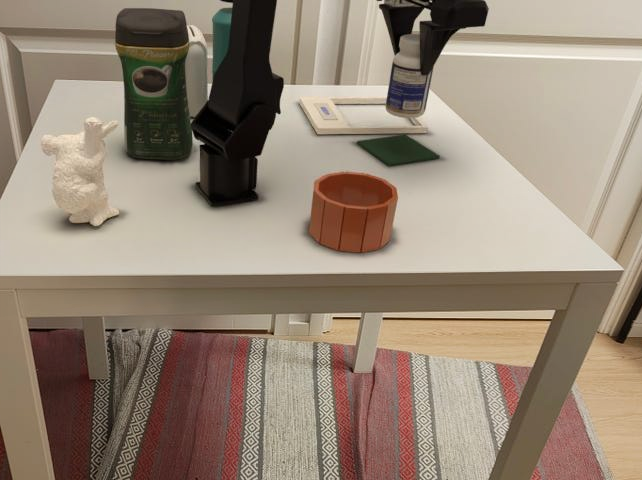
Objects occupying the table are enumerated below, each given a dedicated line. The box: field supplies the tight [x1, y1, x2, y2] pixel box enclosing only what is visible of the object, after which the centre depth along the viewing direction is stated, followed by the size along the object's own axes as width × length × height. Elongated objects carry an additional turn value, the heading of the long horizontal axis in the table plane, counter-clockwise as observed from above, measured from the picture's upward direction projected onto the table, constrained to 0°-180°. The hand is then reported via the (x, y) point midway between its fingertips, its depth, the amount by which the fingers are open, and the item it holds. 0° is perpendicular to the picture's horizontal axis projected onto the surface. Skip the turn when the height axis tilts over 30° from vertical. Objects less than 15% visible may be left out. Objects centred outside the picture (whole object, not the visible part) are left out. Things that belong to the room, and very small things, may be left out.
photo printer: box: [185, 24, 209, 118], centre depth 106 cm, size 10×4×12 cm, turn 13°
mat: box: [356, 134, 441, 167], centre depth 99 cm, size 9×9×1 cm
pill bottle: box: [384, 33, 435, 119], centre depth 92 cm, size 6×6×10 cm
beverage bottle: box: [211, 0, 233, 80], centre depth 97 cm, size 6×7×20 cm
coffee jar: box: [114, 7, 194, 160], centre depth 89 cm, size 10×8×19 cm
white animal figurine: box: [40, 116, 120, 227], centre depth 75 cm, size 8×7×12 cm
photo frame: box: [298, 96, 429, 135], centre depth 109 cm, size 15×1×18 cm
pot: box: [308, 171, 399, 254], centre depth 77 cm, size 10×10×6 cm
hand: (412, 68), depth 91 cm, fingers closed on pill bottle, 6 cm apart
